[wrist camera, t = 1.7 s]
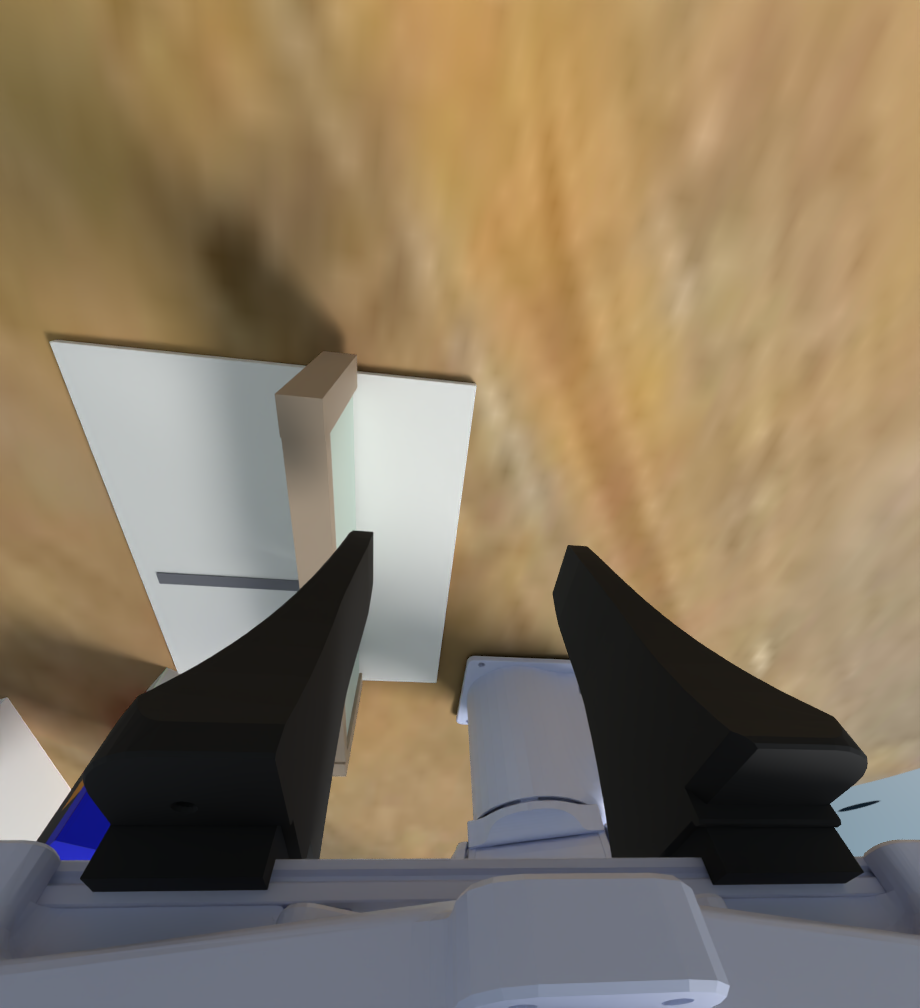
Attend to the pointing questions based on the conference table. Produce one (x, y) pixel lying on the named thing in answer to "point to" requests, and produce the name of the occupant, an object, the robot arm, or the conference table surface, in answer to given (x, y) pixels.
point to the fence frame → (348, 721)
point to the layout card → (270, 494)
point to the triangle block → (25, 780)
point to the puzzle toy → (82, 815)
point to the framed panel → (319, 457)
